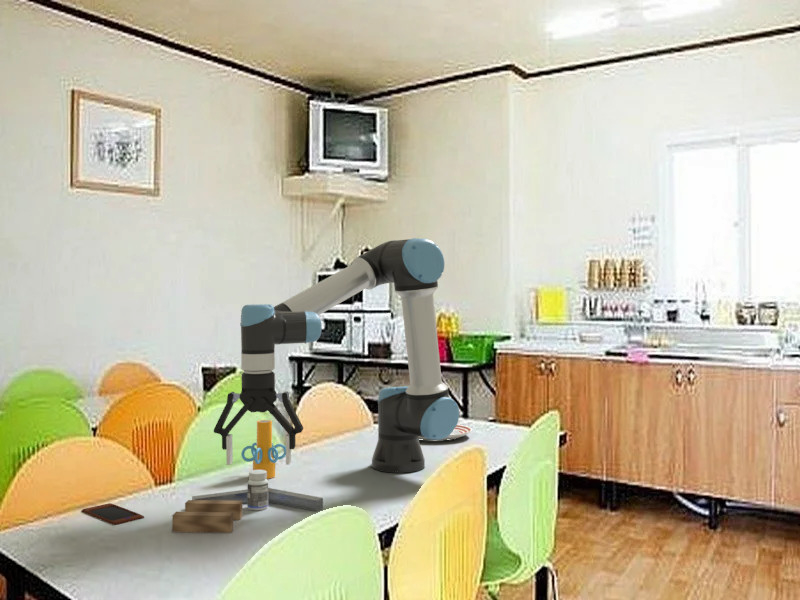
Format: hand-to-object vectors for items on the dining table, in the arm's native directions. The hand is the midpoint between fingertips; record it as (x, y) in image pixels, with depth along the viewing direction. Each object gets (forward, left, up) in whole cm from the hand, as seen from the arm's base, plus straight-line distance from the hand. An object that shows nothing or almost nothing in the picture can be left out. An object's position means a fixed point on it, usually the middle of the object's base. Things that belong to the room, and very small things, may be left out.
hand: (259, 463), depth 170 cm
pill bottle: (0, 0, -11) cm, 11 cm away
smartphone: (+31, +6, -11) cm, 34 cm away
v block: (0, -3, -10) cm, 11 cm away
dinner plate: (-43, -88, -11) cm, 98 cm away
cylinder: (+4, -29, -11) cm, 31 cm away
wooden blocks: (+8, +12, -10) cm, 18 cm away
